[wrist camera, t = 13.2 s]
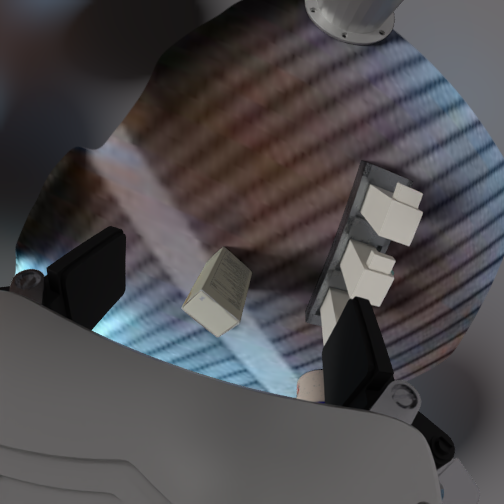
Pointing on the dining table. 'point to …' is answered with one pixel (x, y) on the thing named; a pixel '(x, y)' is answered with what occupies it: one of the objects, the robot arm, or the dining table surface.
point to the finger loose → (332, 310)
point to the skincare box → (219, 293)
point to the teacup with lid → (311, 386)
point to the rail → (352, 233)
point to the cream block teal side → (393, 212)
